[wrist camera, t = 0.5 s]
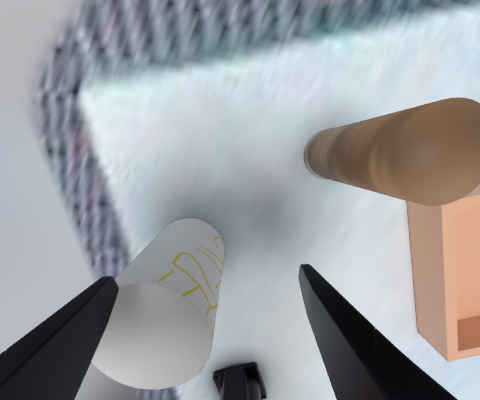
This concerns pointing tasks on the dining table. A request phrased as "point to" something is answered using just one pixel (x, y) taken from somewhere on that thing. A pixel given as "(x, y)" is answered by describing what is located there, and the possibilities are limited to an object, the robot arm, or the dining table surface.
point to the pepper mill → (405, 152)
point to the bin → (447, 274)
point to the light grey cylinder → (165, 309)
